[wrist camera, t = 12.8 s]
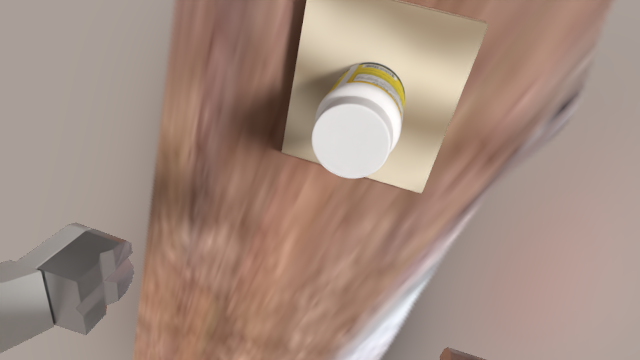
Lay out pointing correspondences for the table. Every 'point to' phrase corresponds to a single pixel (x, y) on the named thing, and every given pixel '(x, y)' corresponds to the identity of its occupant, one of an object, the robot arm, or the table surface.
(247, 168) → the table surface
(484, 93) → the table surface
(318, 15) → the ash board
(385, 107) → the supplement bottle
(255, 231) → the table surface
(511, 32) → the table surface
